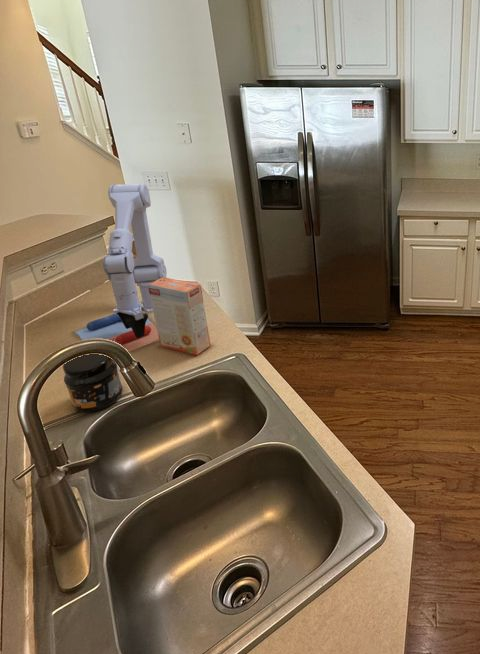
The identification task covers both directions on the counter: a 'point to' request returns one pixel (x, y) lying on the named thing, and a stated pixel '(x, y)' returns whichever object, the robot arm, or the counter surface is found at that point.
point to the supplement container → (92, 382)
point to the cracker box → (179, 315)
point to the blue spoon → (103, 322)
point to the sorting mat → (118, 329)
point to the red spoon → (129, 336)
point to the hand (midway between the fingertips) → (135, 331)
